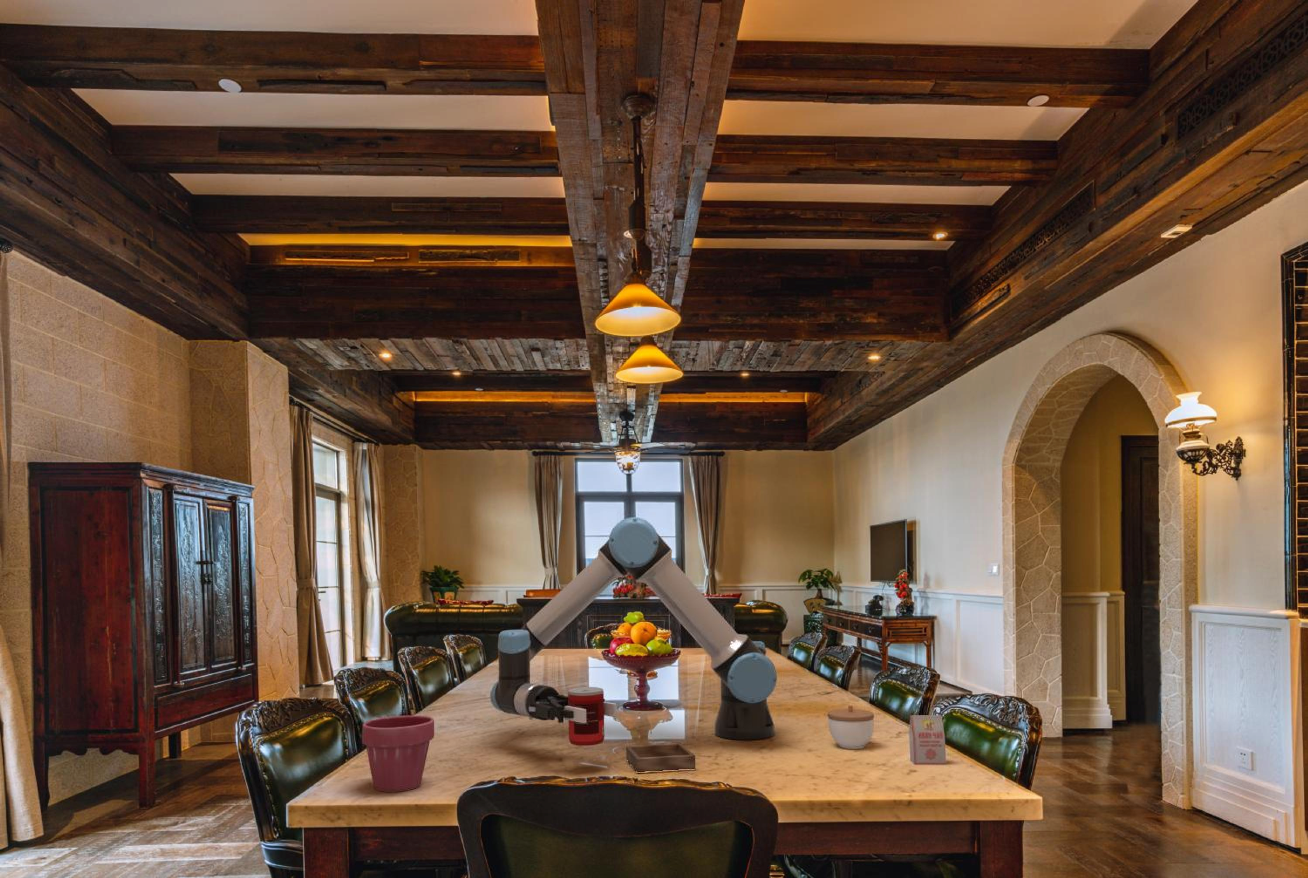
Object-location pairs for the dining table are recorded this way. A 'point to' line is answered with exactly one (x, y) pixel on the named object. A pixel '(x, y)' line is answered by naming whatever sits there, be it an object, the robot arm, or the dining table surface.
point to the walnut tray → (660, 757)
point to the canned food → (587, 716)
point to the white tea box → (927, 740)
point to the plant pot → (397, 750)
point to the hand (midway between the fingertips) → (600, 713)
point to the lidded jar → (851, 727)
